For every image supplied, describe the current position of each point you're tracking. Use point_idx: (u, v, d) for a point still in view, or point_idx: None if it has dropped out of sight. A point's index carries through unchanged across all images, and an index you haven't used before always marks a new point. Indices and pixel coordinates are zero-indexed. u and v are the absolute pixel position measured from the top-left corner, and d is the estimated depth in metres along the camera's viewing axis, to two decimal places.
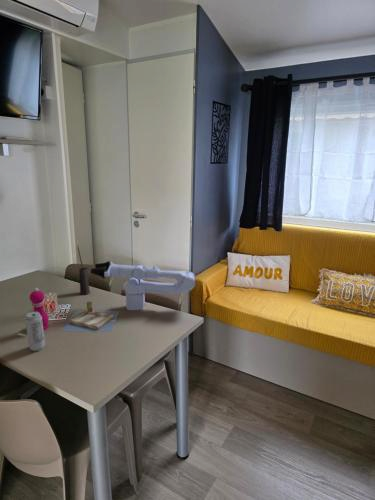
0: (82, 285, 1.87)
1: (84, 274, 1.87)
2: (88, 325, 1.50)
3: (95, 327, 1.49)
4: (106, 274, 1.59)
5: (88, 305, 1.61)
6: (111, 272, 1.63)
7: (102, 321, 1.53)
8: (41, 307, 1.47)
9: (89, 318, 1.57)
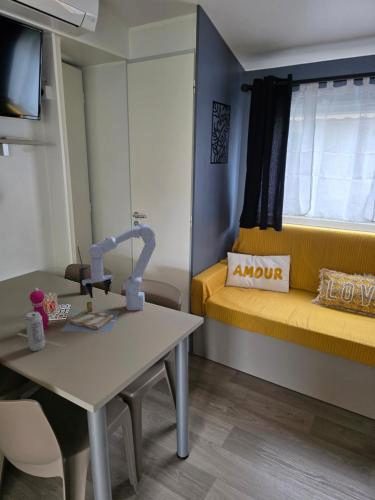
0: (82, 285, 1.87)
1: (84, 274, 1.87)
2: (88, 325, 1.50)
3: (95, 327, 1.49)
4: (82, 282, 1.58)
5: (88, 305, 1.61)
6: (92, 278, 1.59)
7: (102, 321, 1.53)
8: (41, 307, 1.47)
9: (89, 318, 1.57)
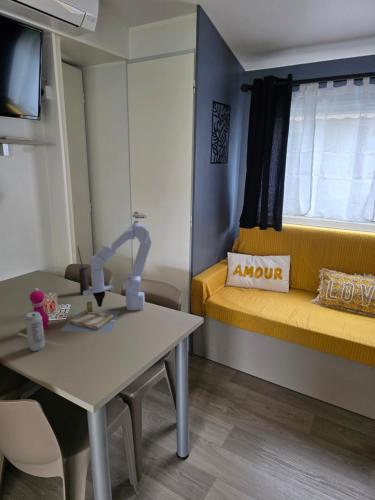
0: (82, 285, 1.87)
1: (84, 274, 1.87)
2: (88, 325, 1.50)
3: (95, 327, 1.49)
4: (83, 293, 1.59)
5: (88, 305, 1.61)
6: (92, 289, 1.61)
7: (102, 321, 1.53)
8: (41, 307, 1.47)
9: (89, 318, 1.57)
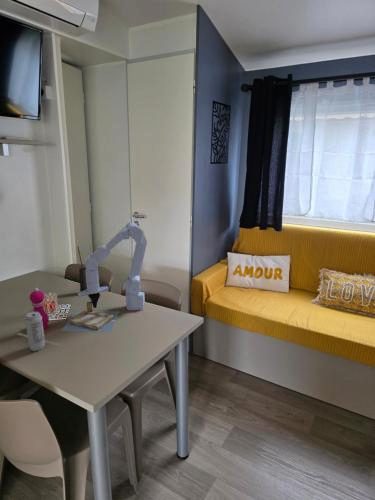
0: (82, 285, 1.87)
1: (84, 274, 1.87)
2: (88, 325, 1.50)
3: (95, 327, 1.49)
4: (78, 294, 1.58)
5: (88, 305, 1.61)
6: (87, 290, 1.60)
7: (102, 321, 1.53)
8: (41, 307, 1.47)
9: (89, 318, 1.57)
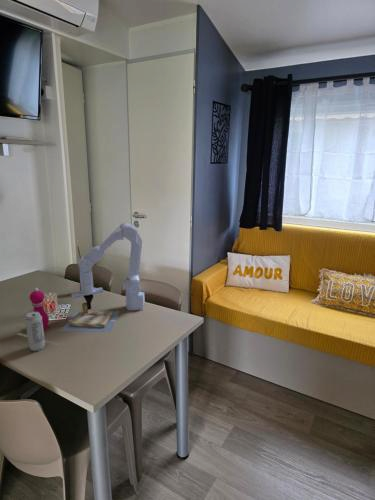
0: None
1: None
2: (93, 325, 1.51)
3: (101, 325, 1.51)
4: (72, 296, 1.57)
5: (84, 306, 1.60)
6: (81, 291, 1.58)
7: (105, 319, 1.55)
8: (41, 307, 1.47)
9: (89, 318, 1.57)
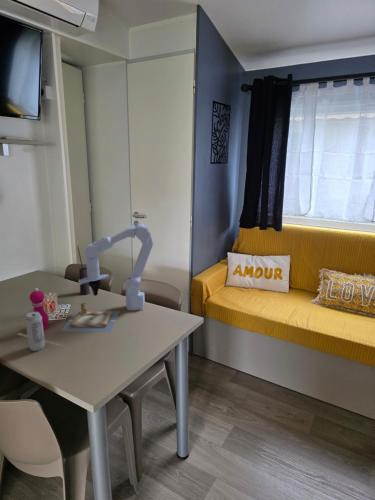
0: (82, 285, 1.87)
1: (84, 274, 1.87)
2: (94, 324, 1.51)
3: (103, 325, 1.51)
4: (79, 282, 1.59)
5: (83, 306, 1.59)
6: (88, 277, 1.61)
7: (106, 318, 1.55)
8: (41, 307, 1.47)
9: (88, 319, 1.57)
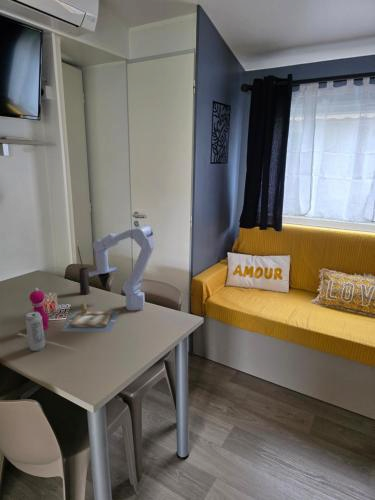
0: (82, 285, 1.87)
1: (84, 274, 1.87)
2: (94, 324, 1.51)
3: (103, 325, 1.51)
4: (89, 274, 1.69)
5: (83, 306, 1.59)
6: (97, 270, 1.71)
7: (106, 318, 1.55)
8: (41, 307, 1.47)
9: (88, 319, 1.57)
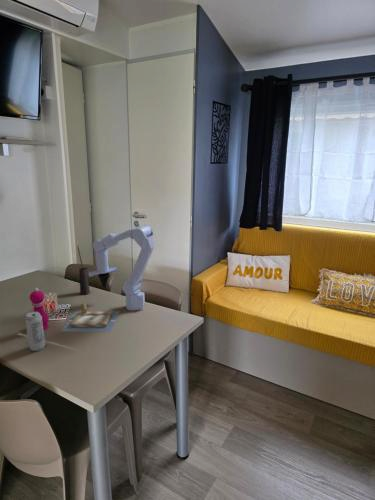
0: (82, 285, 1.87)
1: (84, 274, 1.87)
2: (94, 324, 1.51)
3: (103, 325, 1.51)
4: (89, 274, 1.69)
5: (83, 306, 1.59)
6: (97, 270, 1.71)
7: (106, 318, 1.55)
8: (41, 307, 1.47)
9: (88, 319, 1.57)
